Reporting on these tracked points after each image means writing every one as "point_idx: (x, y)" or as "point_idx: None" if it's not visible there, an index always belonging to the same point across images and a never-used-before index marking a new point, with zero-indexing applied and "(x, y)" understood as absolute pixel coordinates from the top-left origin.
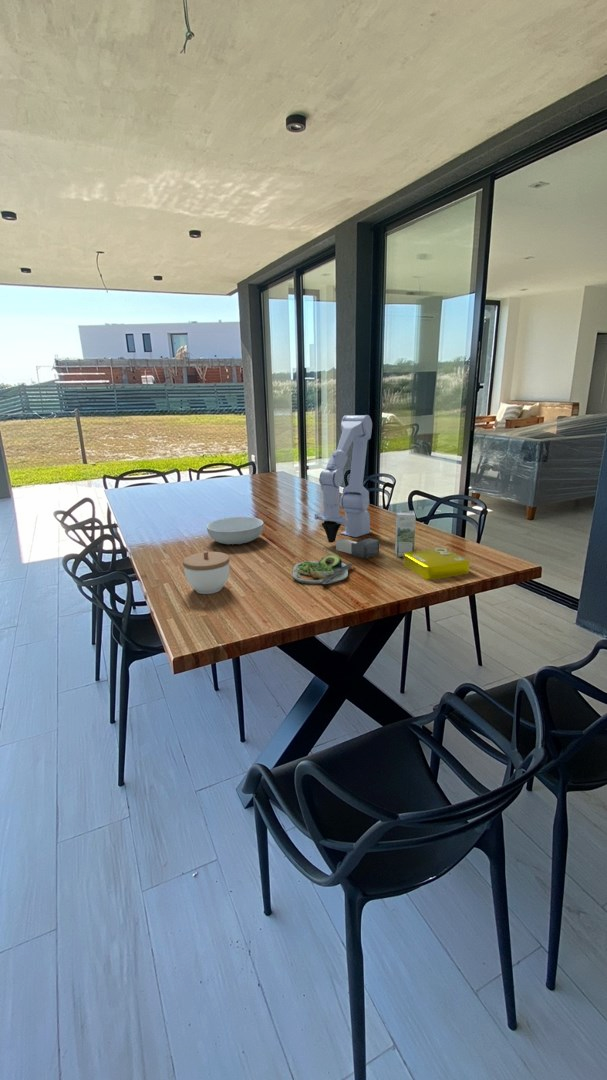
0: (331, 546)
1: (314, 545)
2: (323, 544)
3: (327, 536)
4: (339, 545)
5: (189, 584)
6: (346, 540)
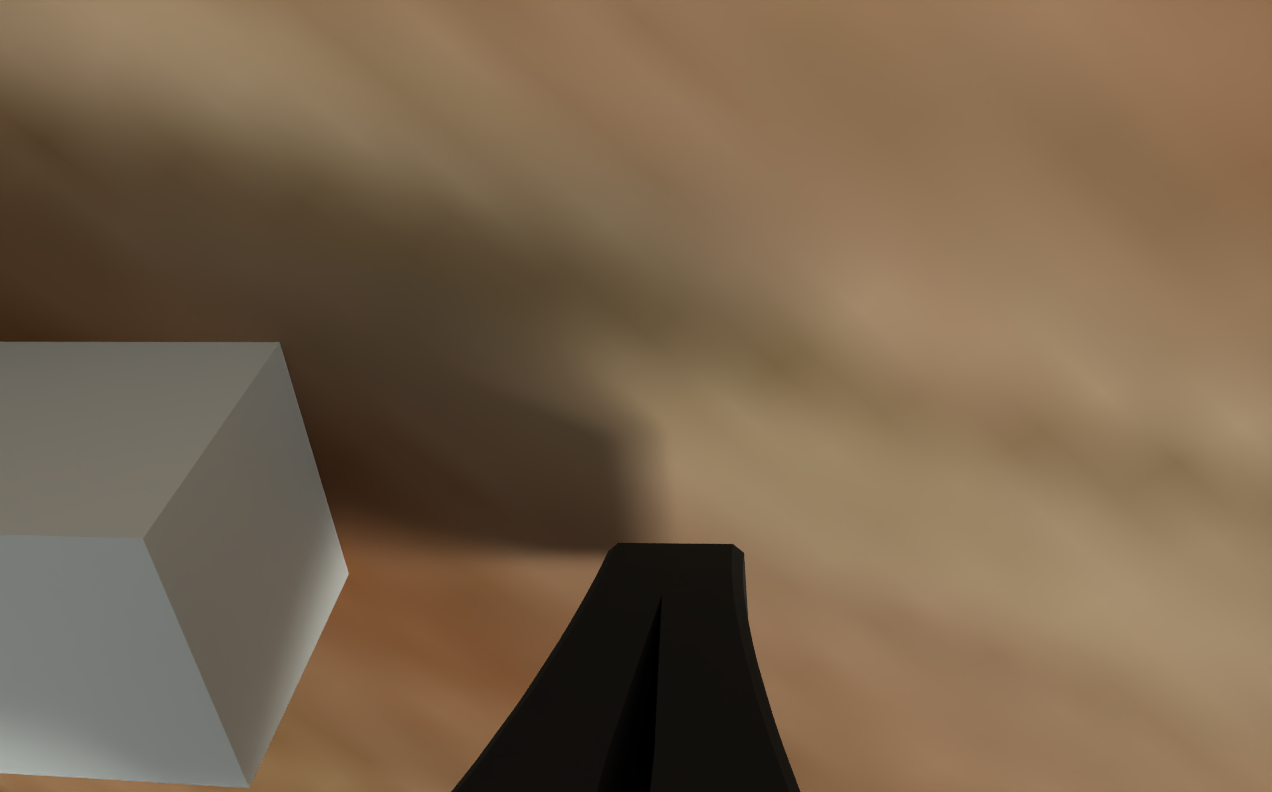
0: (637, 469)
1: (1189, 210)
2: (984, 464)
3: (725, 675)
4: (60, 443)
5: None
6: (14, 726)
